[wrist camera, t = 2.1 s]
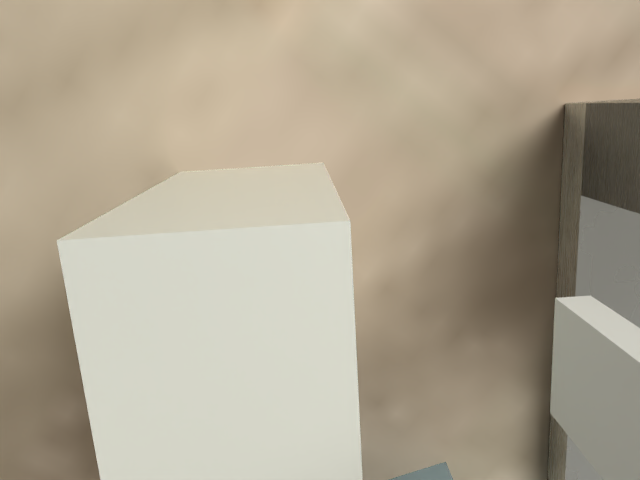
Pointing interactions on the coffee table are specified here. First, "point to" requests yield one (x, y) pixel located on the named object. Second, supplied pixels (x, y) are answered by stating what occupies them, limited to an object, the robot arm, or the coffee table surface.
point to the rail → (598, 231)
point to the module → (219, 328)
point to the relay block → (428, 473)
